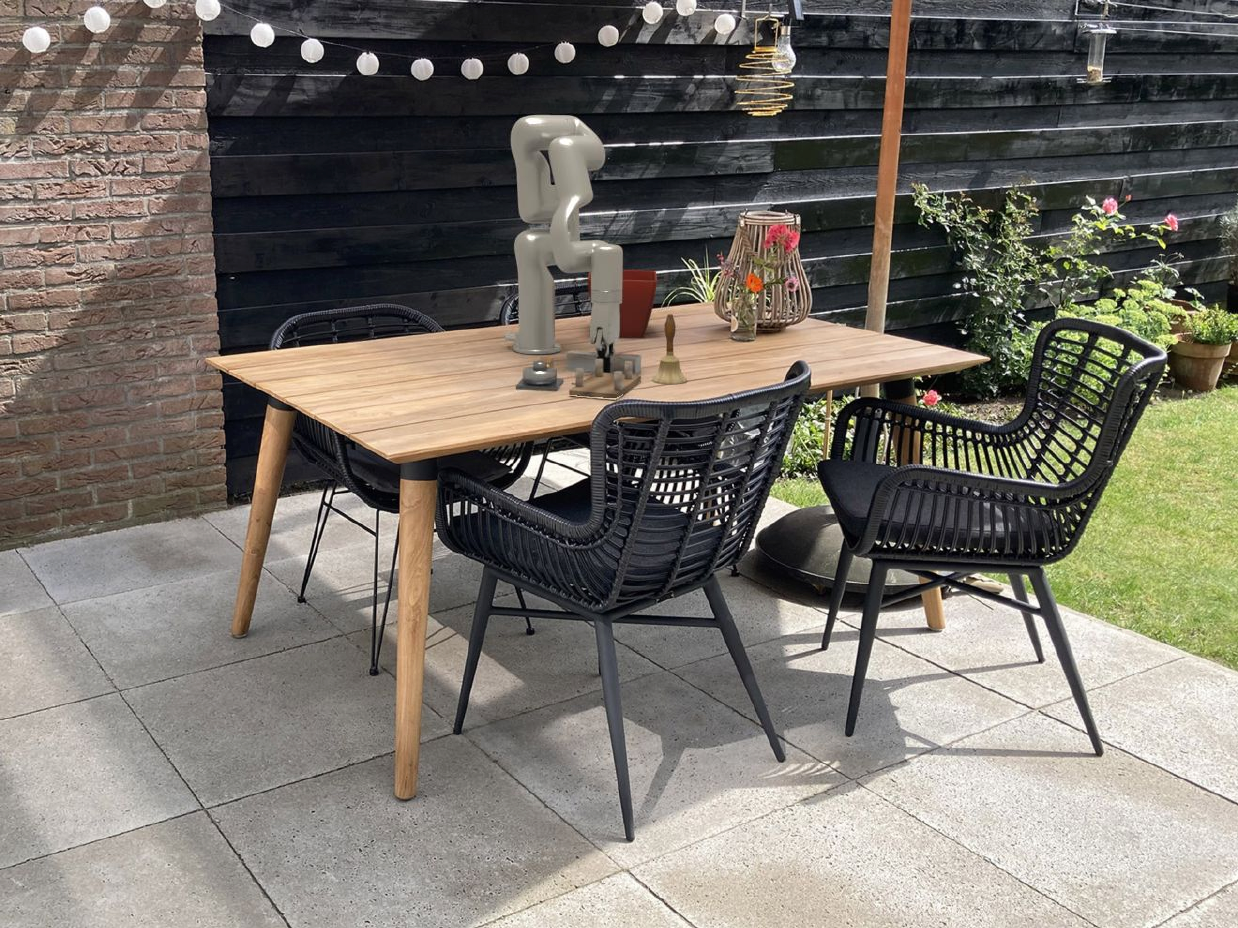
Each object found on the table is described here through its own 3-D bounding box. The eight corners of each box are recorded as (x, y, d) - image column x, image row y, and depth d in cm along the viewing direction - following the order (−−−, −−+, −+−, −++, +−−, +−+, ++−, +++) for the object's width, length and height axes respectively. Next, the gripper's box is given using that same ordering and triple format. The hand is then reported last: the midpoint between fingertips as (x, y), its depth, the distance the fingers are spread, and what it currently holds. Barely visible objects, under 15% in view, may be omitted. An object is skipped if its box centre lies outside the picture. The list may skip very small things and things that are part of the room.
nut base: (577, 391, 285) (577, 388, 285) (515, 389, 287) (515, 385, 286) (583, 382, 294) (583, 379, 294) (523, 380, 296) (523, 376, 296)
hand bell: (662, 385, 293) (664, 318, 288) (645, 378, 300) (647, 312, 295) (693, 382, 296) (695, 316, 292) (675, 375, 303) (677, 310, 299)
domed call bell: (553, 385, 286) (553, 366, 285) (519, 383, 287) (519, 365, 286) (563, 372, 299) (563, 354, 298) (531, 370, 300) (531, 353, 299)
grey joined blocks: (565, 371, 306) (565, 353, 304) (572, 367, 310) (572, 349, 309) (635, 377, 301) (635, 359, 300) (640, 373, 305) (641, 355, 304)
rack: (569, 396, 281) (569, 372, 279) (596, 378, 299) (596, 355, 297) (615, 400, 278) (616, 376, 276) (640, 381, 296) (641, 359, 294)
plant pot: (655, 341, 345) (657, 280, 340) (586, 339, 345) (587, 278, 340) (654, 328, 363) (656, 270, 359) (589, 327, 364) (589, 269, 359)
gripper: (601, 290, 309) (601, 363, 314) (580, 300, 294) (580, 377, 299) (631, 292, 307) (629, 366, 312) (611, 302, 292) (610, 379, 297)
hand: (605, 370), depth 305 cm, fingers closed on grey joined blocks, 3 cm apart
